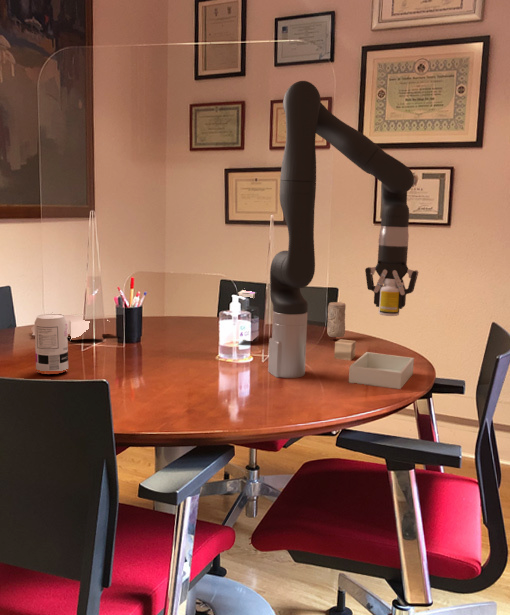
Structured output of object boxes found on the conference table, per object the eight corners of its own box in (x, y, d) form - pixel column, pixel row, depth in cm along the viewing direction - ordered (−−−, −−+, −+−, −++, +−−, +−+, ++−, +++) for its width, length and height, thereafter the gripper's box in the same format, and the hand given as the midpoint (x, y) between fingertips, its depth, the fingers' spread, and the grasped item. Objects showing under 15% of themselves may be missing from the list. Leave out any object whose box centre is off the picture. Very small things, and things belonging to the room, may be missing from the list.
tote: (399, 392, 155) (401, 373, 154) (348, 384, 160) (349, 366, 159) (412, 375, 170) (414, 357, 169) (365, 369, 175) (366, 351, 174)
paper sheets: (11, 332, 213) (10, 316, 212) (51, 322, 230) (51, 308, 229) (93, 344, 199) (93, 327, 198) (129, 332, 217) (129, 317, 216)
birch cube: (350, 360, 185) (351, 344, 184) (334, 358, 187) (335, 342, 186) (355, 357, 189) (355, 341, 188) (339, 355, 191) (339, 339, 190)
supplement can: (30, 371, 165) (28, 315, 162) (58, 365, 171) (57, 312, 168) (45, 377, 159) (44, 320, 157) (74, 371, 165) (73, 316, 163)
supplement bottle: (401, 316, 163) (404, 279, 161) (381, 316, 163) (384, 279, 161) (395, 312, 168) (398, 277, 167) (376, 312, 168) (378, 276, 166)
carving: (342, 334, 219) (344, 301, 217) (346, 339, 212) (348, 305, 210) (325, 334, 219) (326, 301, 217) (328, 339, 212) (329, 304, 210)
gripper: (423, 244, 163) (418, 308, 166) (369, 241, 169) (366, 303, 172) (418, 246, 156) (413, 312, 159) (362, 243, 162) (359, 307, 165)
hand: (389, 307), depth 165 cm, fingers closed on supplement bottle, 5 cm apart
